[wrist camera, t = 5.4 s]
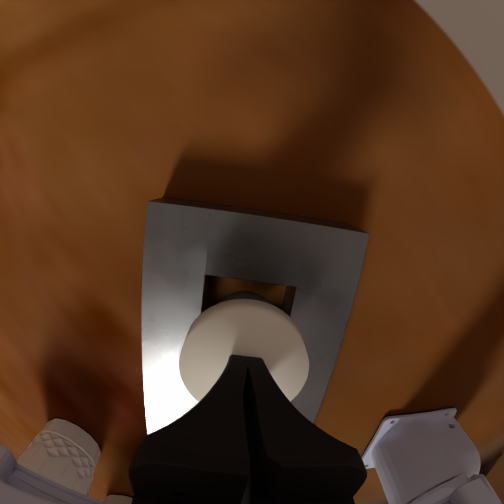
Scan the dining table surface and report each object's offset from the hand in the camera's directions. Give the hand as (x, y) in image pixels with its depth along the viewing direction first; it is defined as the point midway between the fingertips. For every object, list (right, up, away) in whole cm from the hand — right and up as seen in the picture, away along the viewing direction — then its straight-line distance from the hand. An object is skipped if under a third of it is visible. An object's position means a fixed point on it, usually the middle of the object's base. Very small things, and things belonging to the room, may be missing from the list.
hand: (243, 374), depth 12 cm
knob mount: (-1, -4, +9) cm, 10 cm away
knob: (0, +1, +5) cm, 5 cm away
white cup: (-19, -15, +12) cm, 27 cm away
